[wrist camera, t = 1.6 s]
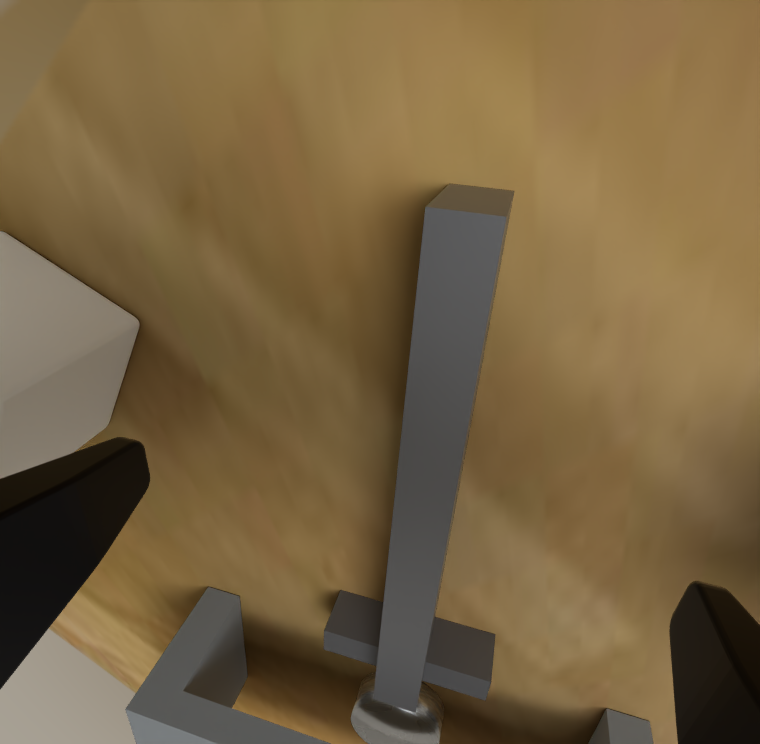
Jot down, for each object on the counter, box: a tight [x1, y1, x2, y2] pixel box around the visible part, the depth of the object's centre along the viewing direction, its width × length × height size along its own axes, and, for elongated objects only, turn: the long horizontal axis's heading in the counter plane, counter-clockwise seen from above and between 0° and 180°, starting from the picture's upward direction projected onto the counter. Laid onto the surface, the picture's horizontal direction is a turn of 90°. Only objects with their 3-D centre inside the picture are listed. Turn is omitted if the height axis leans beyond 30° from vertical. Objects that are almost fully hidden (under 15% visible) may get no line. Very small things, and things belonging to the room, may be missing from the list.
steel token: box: [351, 672, 444, 744], centre depth 29 cm, size 5×5×2 cm
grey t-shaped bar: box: [324, 184, 514, 713], centre depth 20 cm, size 8×22×4 cm, turn 176°
